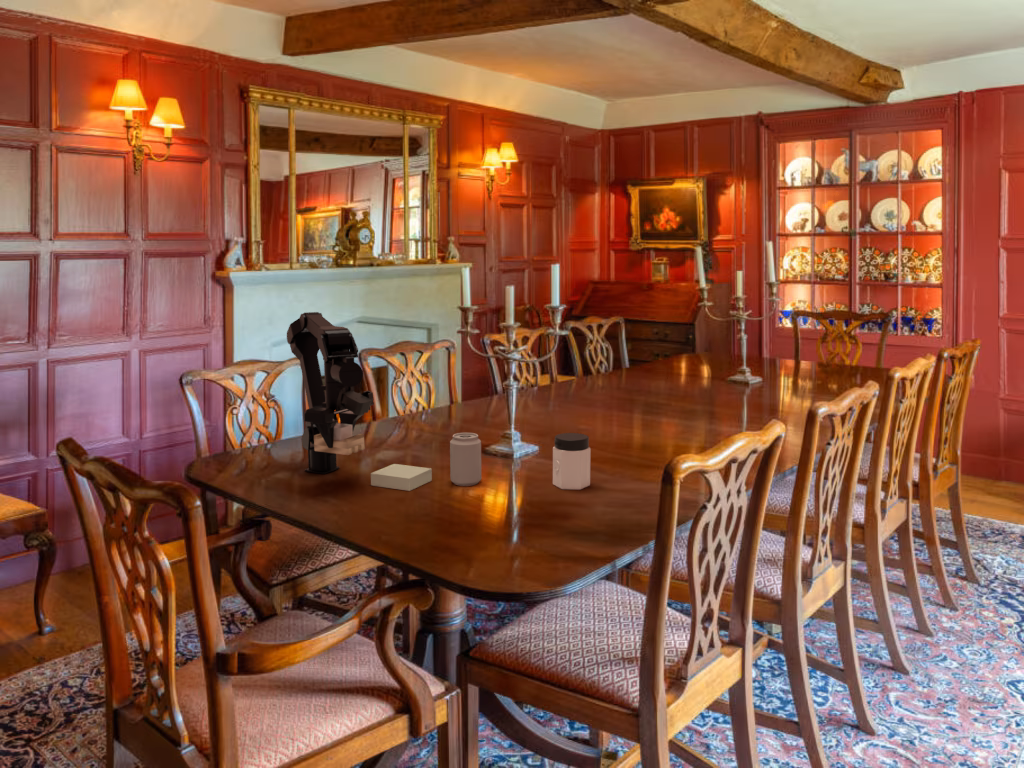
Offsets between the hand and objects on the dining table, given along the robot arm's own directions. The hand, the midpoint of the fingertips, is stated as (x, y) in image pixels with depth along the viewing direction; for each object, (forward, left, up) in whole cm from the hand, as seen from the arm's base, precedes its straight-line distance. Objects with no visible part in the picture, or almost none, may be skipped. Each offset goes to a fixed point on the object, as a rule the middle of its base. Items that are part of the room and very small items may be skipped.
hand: (339, 445), depth 205 cm
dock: (+13, +7, -10) cm, 18 cm away
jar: (+51, +23, -10) cm, 57 cm away
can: (+27, +14, -10) cm, 32 cm away
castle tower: (0, 0, -1) cm, 1 cm away
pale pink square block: (0, 0, +2) cm, 2 cm away
